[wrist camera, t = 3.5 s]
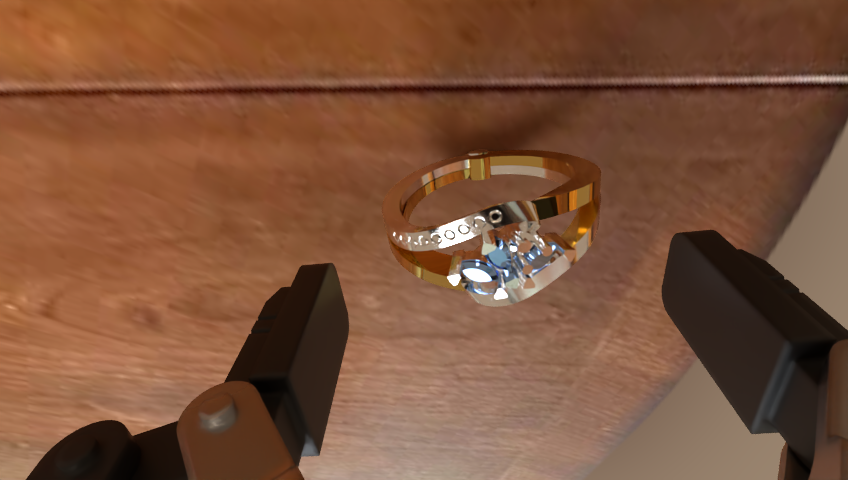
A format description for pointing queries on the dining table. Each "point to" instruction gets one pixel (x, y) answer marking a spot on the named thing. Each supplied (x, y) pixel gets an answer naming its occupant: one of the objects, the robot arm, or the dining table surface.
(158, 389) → the dining table surface
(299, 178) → the dining table surface
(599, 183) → the ring
